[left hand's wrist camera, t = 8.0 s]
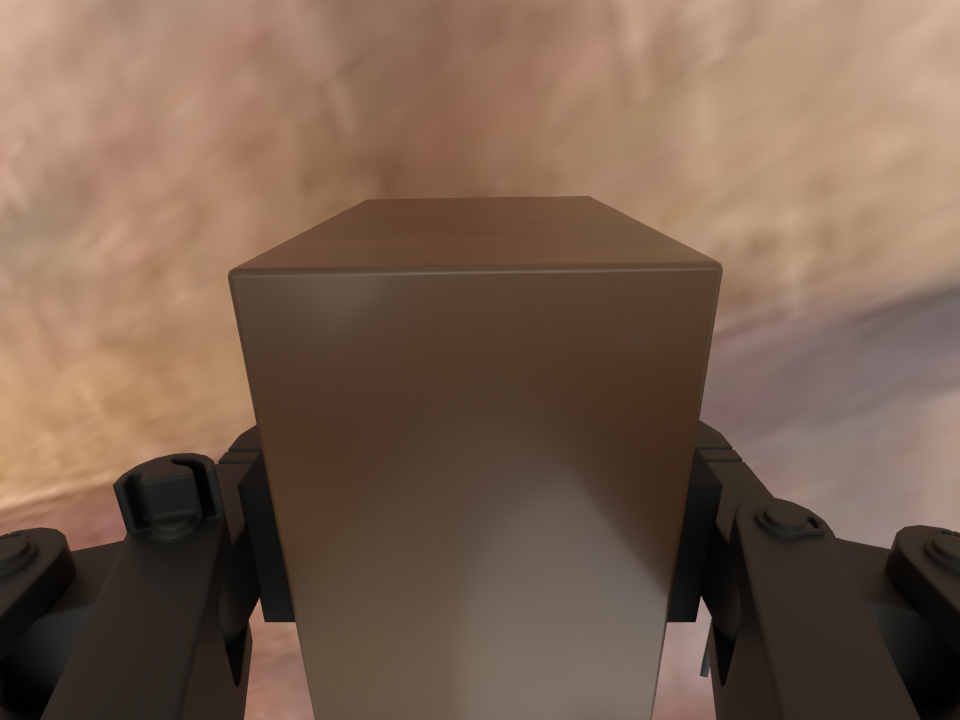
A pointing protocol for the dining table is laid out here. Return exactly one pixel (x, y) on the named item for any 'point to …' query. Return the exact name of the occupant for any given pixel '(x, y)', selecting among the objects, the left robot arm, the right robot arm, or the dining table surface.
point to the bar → (479, 451)
